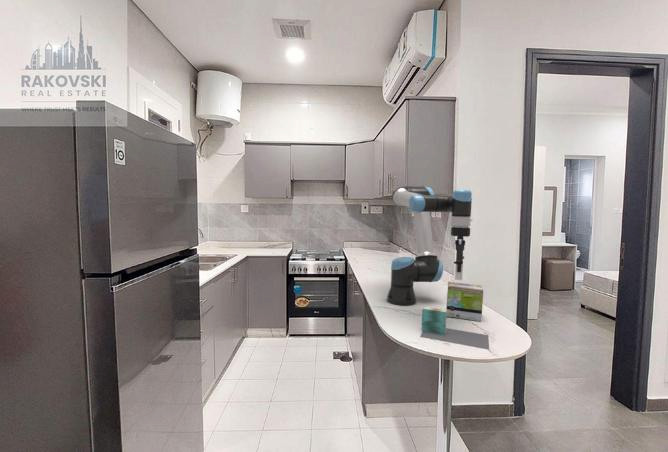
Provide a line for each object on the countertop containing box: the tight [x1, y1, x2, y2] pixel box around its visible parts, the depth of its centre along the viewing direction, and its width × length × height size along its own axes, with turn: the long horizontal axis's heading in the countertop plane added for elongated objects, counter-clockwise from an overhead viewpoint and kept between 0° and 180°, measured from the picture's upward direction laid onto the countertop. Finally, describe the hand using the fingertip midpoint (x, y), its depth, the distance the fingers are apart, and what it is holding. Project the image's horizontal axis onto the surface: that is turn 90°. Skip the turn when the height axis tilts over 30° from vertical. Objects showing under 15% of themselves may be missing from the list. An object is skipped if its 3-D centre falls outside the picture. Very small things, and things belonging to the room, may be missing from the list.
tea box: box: [446, 281, 484, 322], centre depth 148 cm, size 15×10×15 cm
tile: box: [421, 306, 447, 335], centre depth 128 cm, size 9×3×9 cm, turn 65°
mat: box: [419, 327, 490, 350], centre depth 124 cm, size 24×14×1 cm, turn 65°
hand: (458, 276), depth 135 cm, fingers open, 13 cm apart
